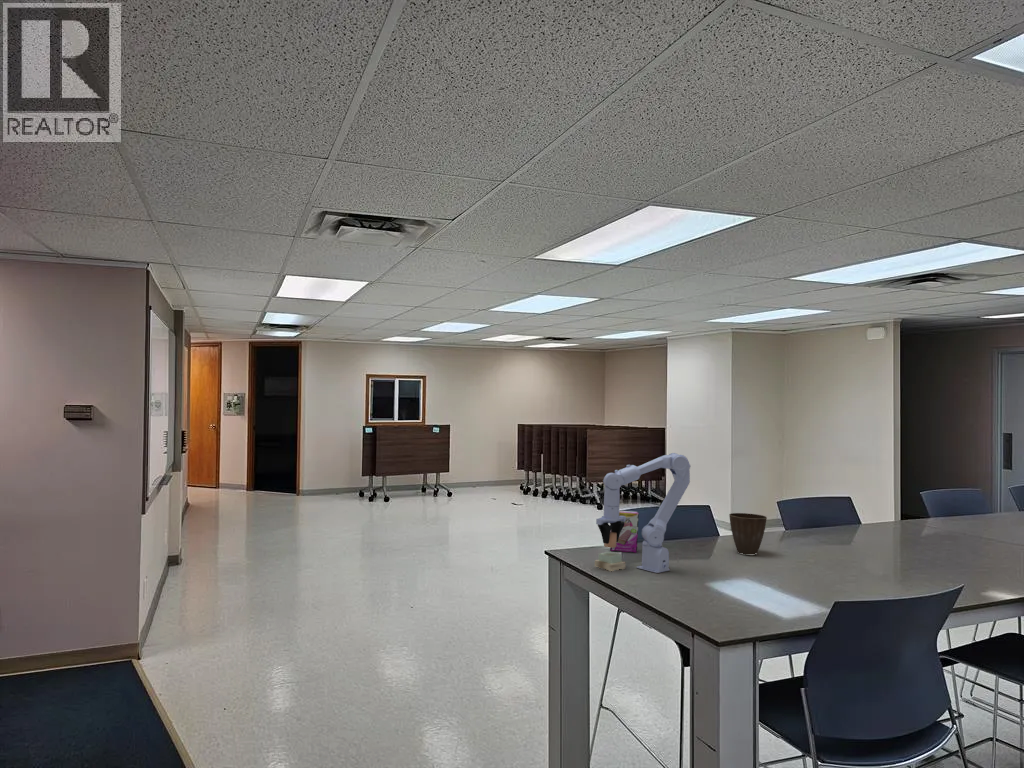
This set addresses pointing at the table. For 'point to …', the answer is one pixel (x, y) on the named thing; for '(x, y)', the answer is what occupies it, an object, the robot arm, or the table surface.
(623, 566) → the tower base
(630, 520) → the candy bar box
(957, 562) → the table surface
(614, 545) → the terracotta cylinder
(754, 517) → the plant pot
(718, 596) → the table surface
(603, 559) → the tower top
